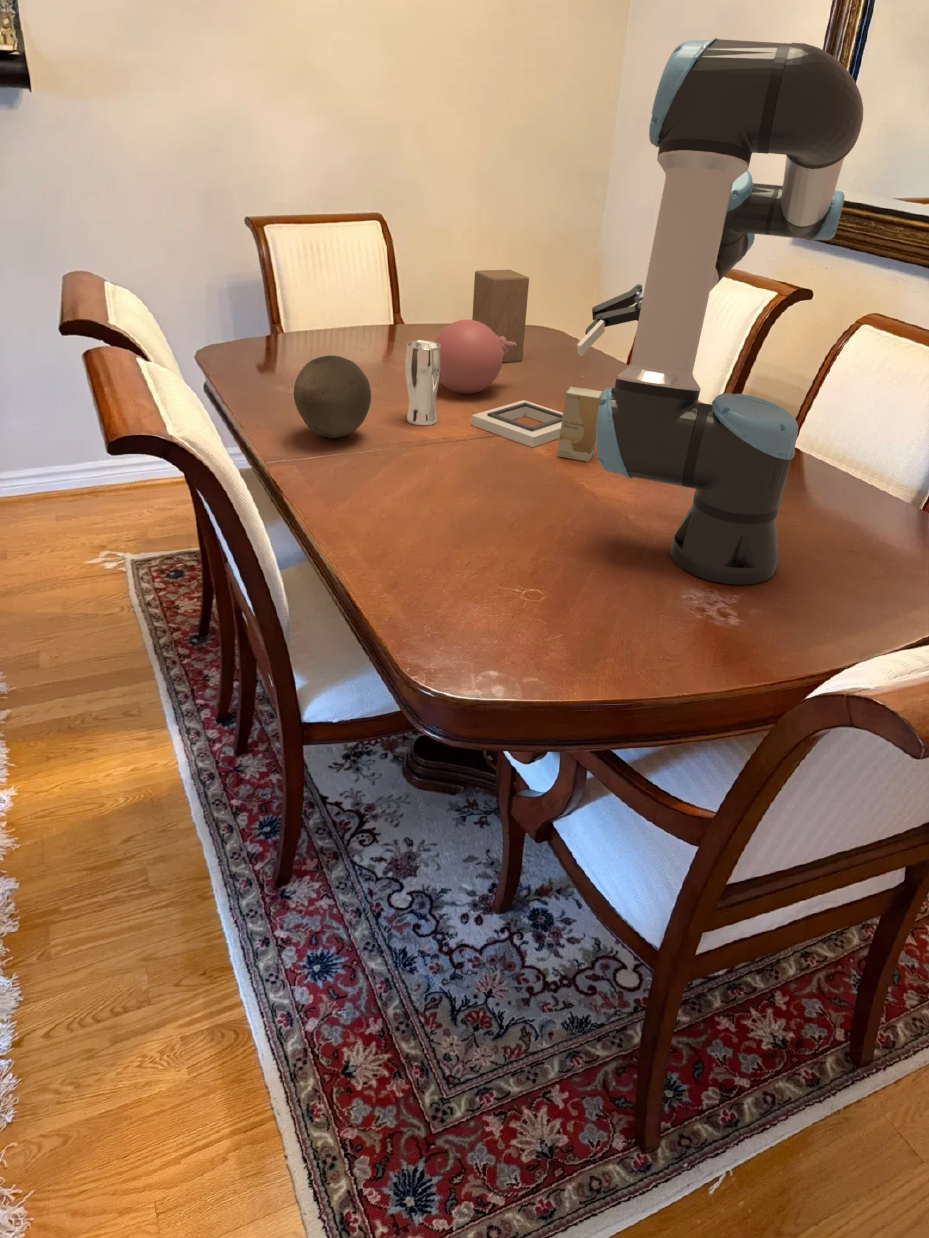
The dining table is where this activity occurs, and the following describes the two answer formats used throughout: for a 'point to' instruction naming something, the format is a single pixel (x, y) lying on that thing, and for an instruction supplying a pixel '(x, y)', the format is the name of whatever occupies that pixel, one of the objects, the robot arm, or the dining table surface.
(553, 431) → the socket block
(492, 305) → the wooden block
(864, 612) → the dining table surface
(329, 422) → the dark brown ball
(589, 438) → the skincare box
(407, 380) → the beer glass
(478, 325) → the balloon
